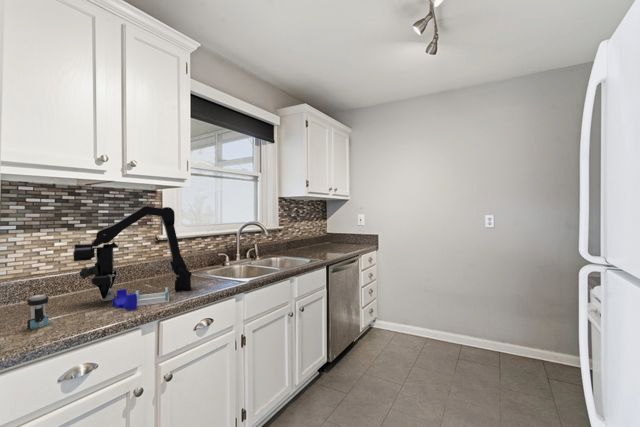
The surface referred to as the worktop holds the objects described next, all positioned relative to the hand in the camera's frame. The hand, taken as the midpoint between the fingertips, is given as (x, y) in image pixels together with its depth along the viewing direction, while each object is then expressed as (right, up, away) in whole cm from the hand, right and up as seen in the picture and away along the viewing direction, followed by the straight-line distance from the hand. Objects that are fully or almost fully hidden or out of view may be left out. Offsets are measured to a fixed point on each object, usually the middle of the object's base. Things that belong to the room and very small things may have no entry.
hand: (105, 296), depth 129 cm
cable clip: (+13, -3, -8) cm, 16 cm away
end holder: (+20, -2, -1) cm, 20 cm away
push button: (-2, -3, -28) cm, 28 cm away
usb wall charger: (0, -1, 0) cm, 1 cm away
